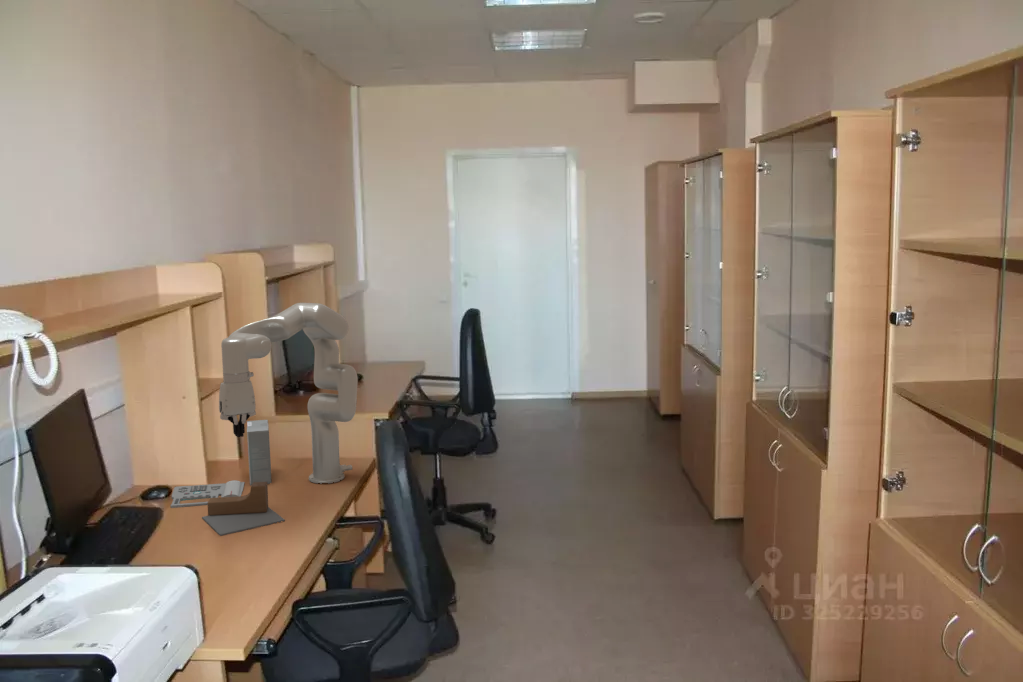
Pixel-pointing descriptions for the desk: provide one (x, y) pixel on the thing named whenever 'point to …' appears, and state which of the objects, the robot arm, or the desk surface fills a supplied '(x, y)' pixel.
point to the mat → (241, 521)
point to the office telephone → (205, 492)
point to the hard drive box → (259, 451)
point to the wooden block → (241, 502)
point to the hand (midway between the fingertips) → (239, 435)
